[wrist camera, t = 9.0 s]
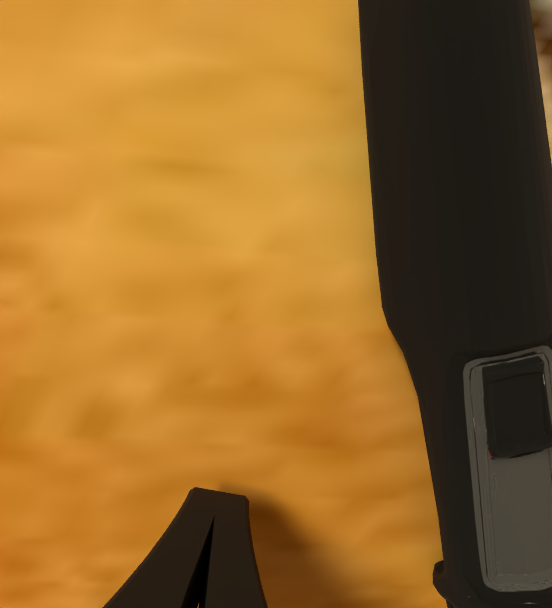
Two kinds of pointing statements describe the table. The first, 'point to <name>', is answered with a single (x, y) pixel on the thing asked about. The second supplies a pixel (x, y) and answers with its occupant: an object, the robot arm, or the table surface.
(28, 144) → the table surface
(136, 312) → the table surface
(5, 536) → the table surface
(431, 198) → the electric trimmer
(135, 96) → the table surface
